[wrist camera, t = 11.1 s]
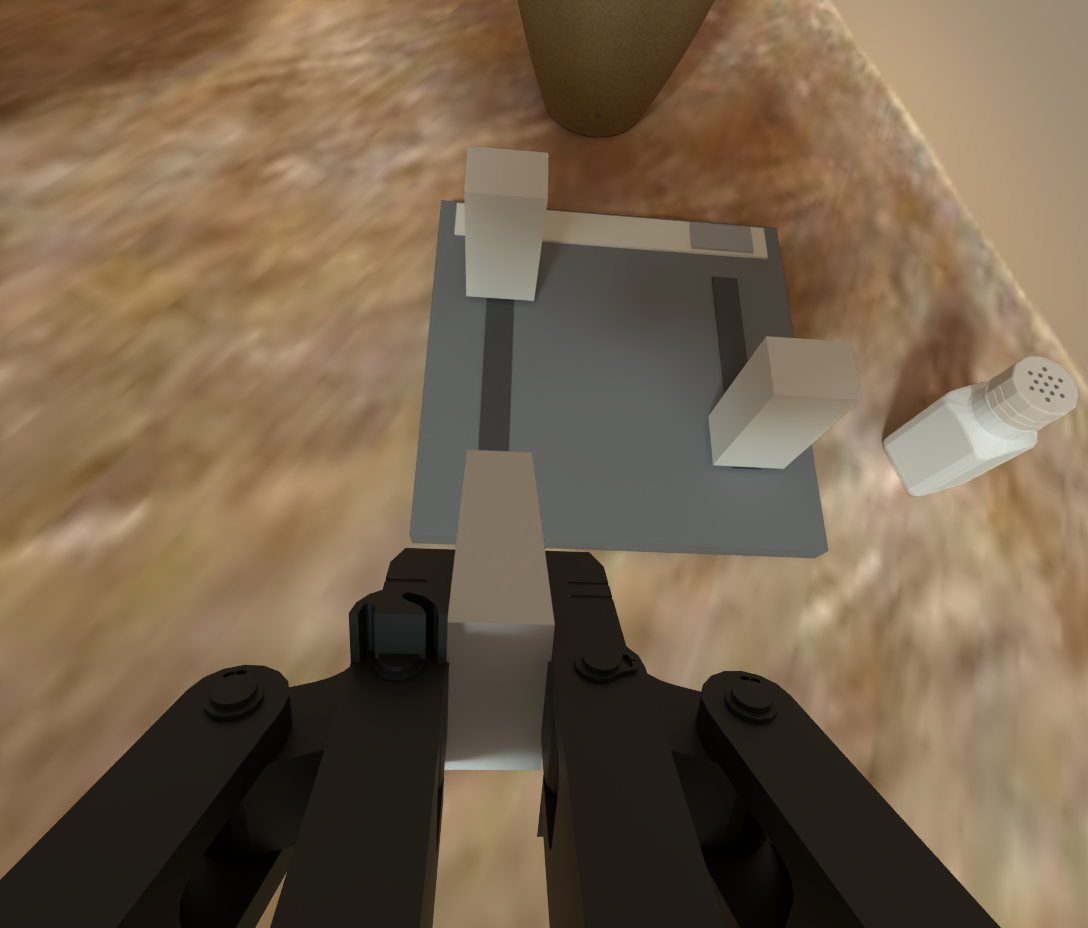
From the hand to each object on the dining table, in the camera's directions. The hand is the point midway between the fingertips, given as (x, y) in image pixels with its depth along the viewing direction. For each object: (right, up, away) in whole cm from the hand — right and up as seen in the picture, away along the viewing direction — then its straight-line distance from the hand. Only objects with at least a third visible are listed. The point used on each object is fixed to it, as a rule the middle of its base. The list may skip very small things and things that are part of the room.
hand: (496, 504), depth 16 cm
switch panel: (+5, +6, +24) cm, 25 cm away
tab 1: (-1, +12, +24) cm, 27 cm away
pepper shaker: (+24, +1, +24) cm, 34 cm away
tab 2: (+12, +2, +21) cm, 25 cm away
